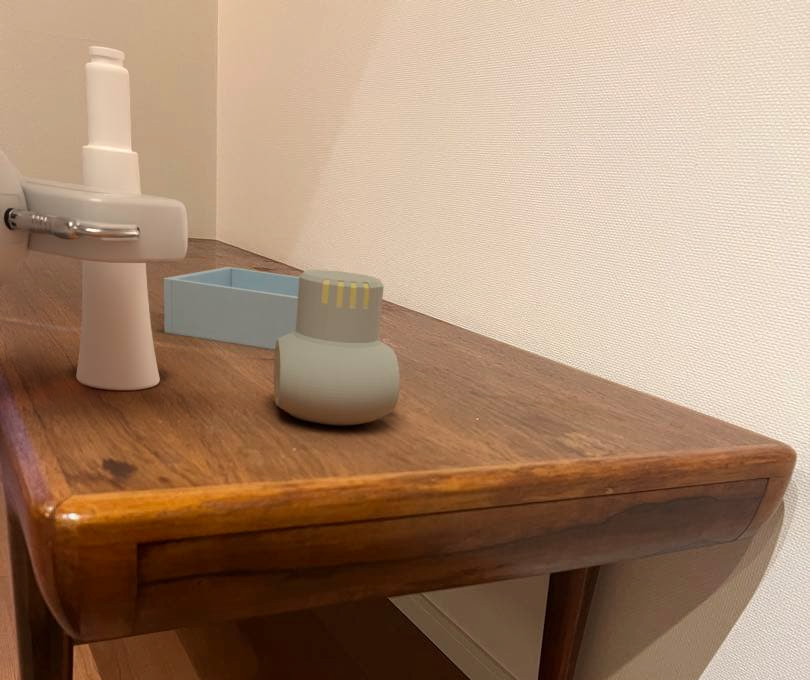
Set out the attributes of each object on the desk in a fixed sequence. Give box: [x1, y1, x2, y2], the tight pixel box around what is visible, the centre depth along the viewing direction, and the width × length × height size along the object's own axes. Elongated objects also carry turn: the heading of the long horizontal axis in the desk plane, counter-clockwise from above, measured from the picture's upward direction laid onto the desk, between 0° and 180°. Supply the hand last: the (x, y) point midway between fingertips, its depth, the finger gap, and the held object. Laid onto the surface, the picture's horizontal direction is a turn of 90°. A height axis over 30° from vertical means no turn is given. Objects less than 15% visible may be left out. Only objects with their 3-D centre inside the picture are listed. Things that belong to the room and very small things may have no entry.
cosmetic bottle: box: [75, 45, 161, 391], centre depth 56 cm, size 6×6×22 cm
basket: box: [163, 266, 299, 350], centre depth 81 cm, size 16×16×6 cm
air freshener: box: [273, 269, 401, 427], centre depth 56 cm, size 11×8×10 cm
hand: (121, 213), depth 56 cm, fingers open, 5 cm apart
